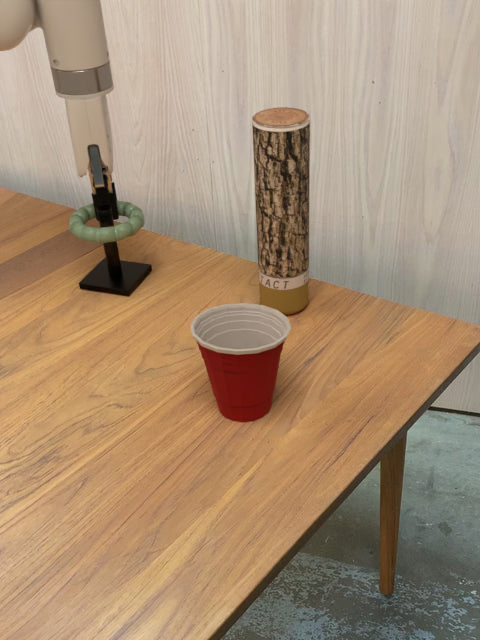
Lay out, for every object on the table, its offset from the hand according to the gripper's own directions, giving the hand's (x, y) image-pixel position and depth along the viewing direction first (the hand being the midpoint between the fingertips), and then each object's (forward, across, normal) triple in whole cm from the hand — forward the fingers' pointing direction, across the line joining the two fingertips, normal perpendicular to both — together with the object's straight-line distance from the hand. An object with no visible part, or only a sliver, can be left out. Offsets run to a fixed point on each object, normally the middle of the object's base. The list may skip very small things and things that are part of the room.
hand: (107, 214), depth 113 cm
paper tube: (+8, +16, +23) cm, 29 cm away
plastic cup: (+8, +39, +14) cm, 42 cm away
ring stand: (+8, +4, 0) cm, 9 cm away
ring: (-1, +4, 0) cm, 4 cm away
